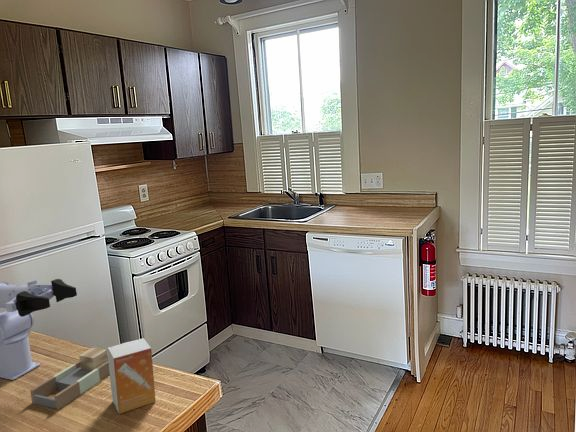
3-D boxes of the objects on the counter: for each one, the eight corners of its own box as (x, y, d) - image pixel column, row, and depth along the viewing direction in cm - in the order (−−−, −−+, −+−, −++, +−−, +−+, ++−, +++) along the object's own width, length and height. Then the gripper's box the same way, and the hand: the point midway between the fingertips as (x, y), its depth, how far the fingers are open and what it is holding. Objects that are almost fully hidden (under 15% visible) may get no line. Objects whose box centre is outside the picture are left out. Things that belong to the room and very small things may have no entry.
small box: (118, 415, 93) (112, 358, 91) (112, 401, 98) (106, 347, 96) (156, 402, 97) (151, 347, 95) (148, 389, 103) (143, 337, 100)
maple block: (80, 368, 109) (79, 355, 109) (94, 360, 113) (92, 347, 113) (94, 371, 108) (93, 358, 107) (108, 362, 112) (106, 349, 111)
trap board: (32, 403, 99) (30, 390, 98) (97, 361, 117) (95, 350, 116) (58, 409, 96) (57, 396, 95) (121, 366, 114) (120, 354, 113)
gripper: (-12, 290, 101) (31, 291, 96) (43, 272, 114) (83, 271, 109) (-5, 319, 102) (37, 321, 97) (48, 298, 115) (88, 299, 110)
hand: (62, 297), depth 103 cm, fingers open, 7 cm apart
